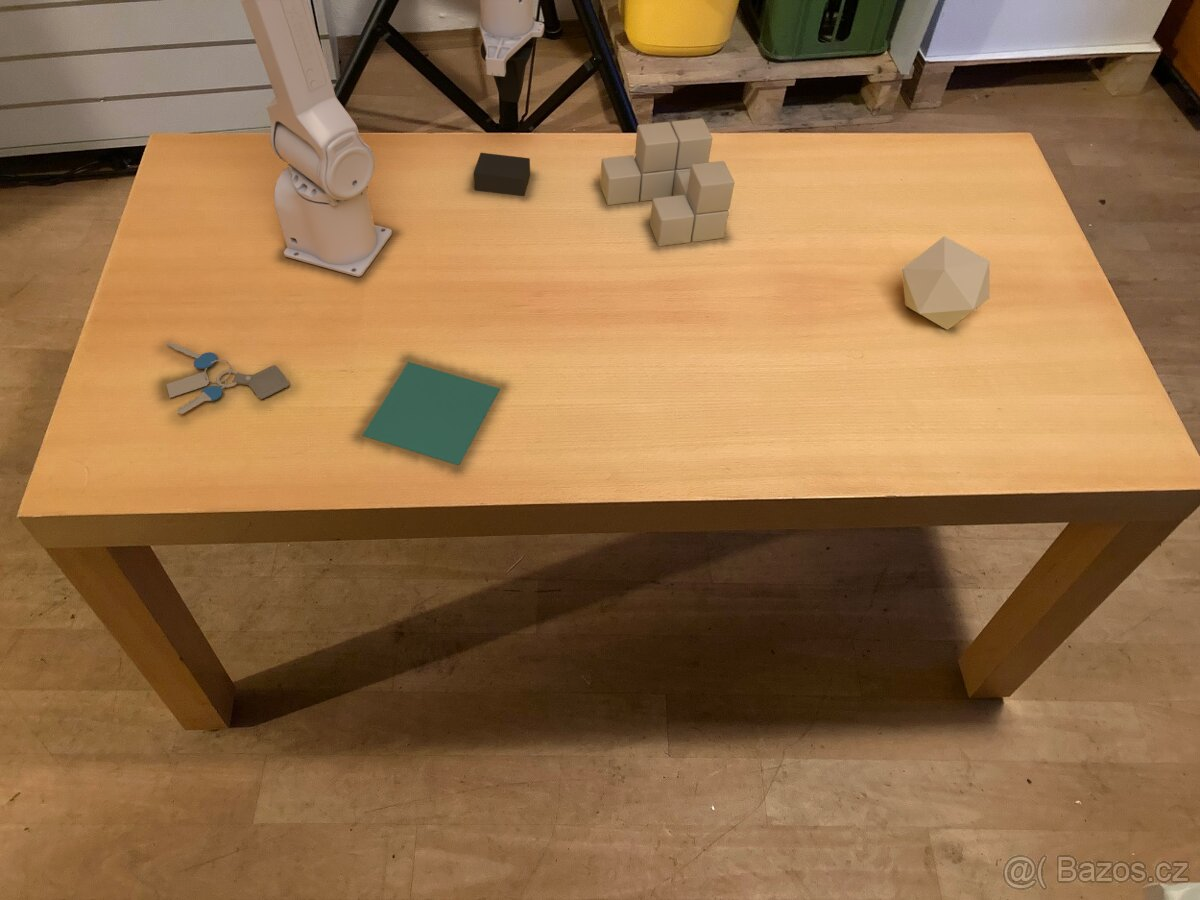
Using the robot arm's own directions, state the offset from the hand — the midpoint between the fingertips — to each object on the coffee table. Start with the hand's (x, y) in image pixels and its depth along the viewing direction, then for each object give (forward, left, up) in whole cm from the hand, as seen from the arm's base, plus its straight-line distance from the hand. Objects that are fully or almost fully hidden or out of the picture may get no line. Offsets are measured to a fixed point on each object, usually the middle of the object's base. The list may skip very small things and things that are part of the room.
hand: (510, 98), depth 108 cm
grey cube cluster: (+21, -4, -7) cm, 22 cm away
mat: (+8, -41, -7) cm, 43 cm away
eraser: (+1, -6, -7) cm, 10 cm away
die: (+53, -9, -7) cm, 55 cm away
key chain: (-13, -46, -7) cm, 49 cm away
